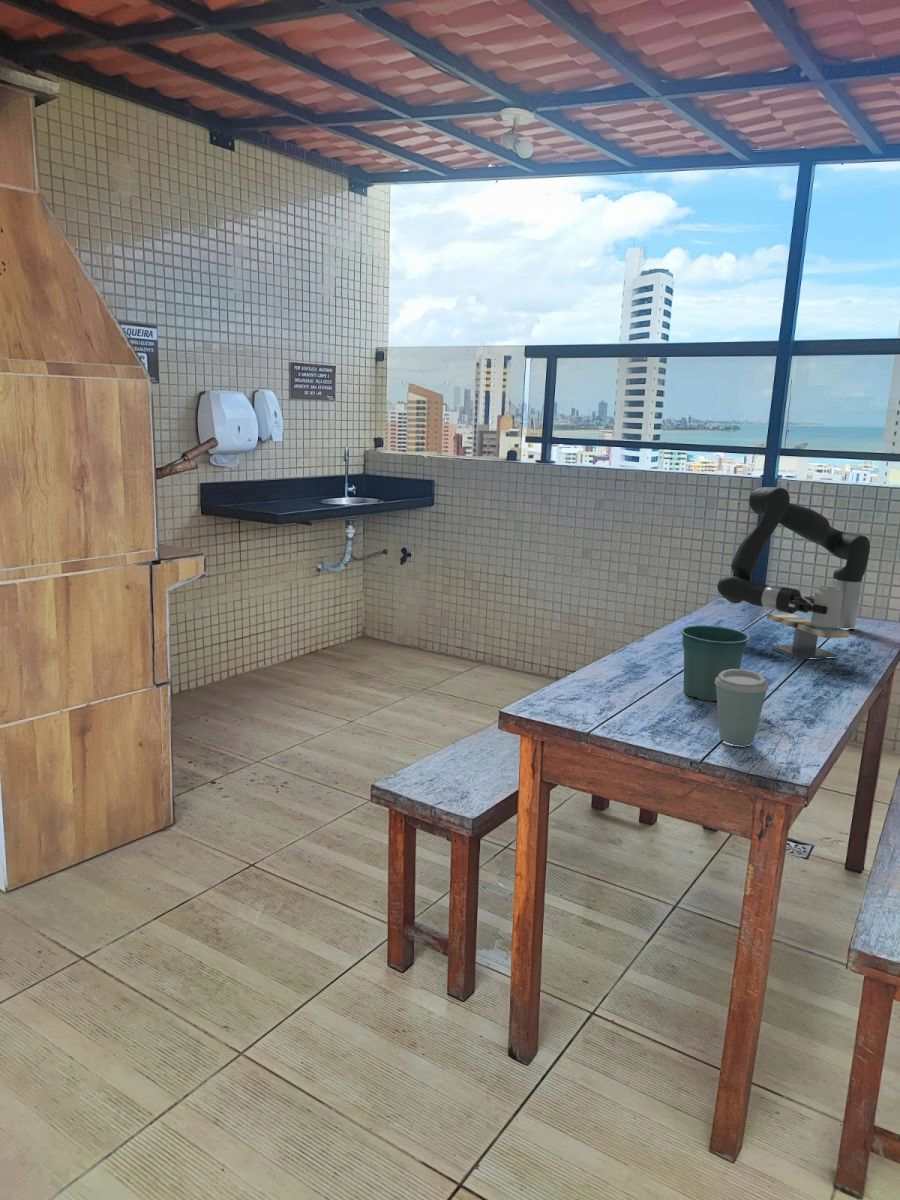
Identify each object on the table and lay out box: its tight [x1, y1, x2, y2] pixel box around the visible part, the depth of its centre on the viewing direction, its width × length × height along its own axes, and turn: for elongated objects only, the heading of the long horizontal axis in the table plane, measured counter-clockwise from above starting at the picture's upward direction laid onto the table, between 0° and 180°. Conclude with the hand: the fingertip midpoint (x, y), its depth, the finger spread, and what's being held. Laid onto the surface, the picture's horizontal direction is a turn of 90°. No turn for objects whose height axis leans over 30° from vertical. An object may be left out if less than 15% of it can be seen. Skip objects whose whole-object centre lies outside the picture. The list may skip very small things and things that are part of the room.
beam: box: [766, 612, 850, 639], centre depth 255 cm, size 26×10×2 cm, turn 17°
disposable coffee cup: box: [715, 668, 769, 746], centre depth 177 cm, size 11×11×15 cm
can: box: [810, 585, 843, 630], centre depth 246 cm, size 8×8×12 cm
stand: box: [771, 628, 838, 660], centre depth 256 cm, size 12×14×8 cm
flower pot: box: [680, 624, 751, 702], centre depth 209 cm, size 16×16×16 cm
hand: (833, 609), depth 245 cm, fingers open, 8 cm apart
